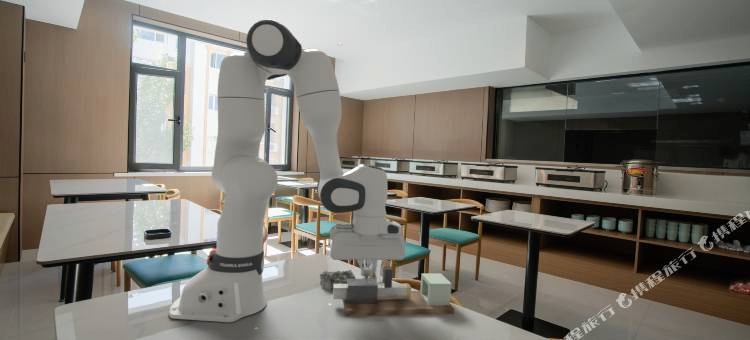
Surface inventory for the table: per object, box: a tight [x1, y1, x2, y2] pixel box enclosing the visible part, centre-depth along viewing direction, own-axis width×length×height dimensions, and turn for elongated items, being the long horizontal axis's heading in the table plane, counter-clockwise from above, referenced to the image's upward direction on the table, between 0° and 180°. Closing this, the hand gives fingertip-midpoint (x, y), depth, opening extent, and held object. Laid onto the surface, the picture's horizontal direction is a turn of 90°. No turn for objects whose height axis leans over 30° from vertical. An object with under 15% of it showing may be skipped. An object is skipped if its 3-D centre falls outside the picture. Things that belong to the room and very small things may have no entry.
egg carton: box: [319, 269, 356, 290], centre depth 113 cm, size 11×8×4 cm
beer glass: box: [361, 260, 383, 284], centre depth 117 cm, size 7×7×15 cm
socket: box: [419, 272, 452, 306], centre depth 102 cm, size 6×8×8 cm
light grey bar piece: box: [332, 265, 412, 300], centre depth 99 cm, size 21×3×8 cm, turn 100°
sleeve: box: [346, 278, 378, 304], centre depth 99 cm, size 8×5×5 cm, turn 100°
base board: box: [342, 290, 455, 317], centre depth 100 cm, size 29×12×2 cm, turn 100°
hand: (366, 275), depth 98 cm, fingers closed
